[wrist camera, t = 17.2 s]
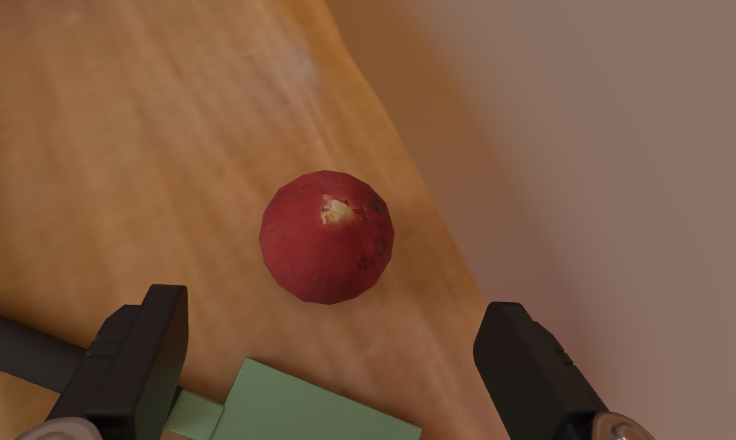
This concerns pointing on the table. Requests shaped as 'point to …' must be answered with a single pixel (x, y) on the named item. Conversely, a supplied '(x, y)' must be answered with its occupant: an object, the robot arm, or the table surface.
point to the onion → (326, 237)
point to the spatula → (211, 418)
